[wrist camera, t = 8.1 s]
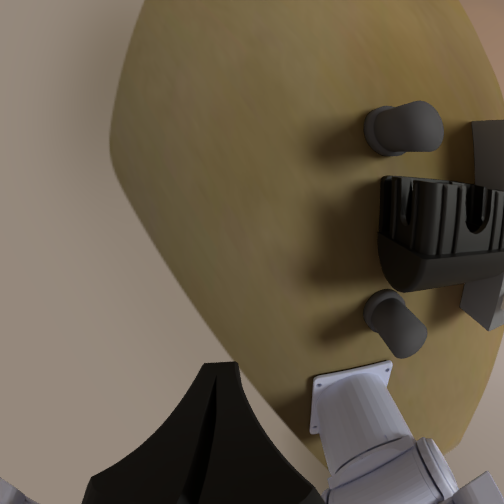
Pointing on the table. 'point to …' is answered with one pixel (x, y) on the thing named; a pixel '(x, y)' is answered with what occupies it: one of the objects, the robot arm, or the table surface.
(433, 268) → the end cap
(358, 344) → the table surface
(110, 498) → the robot arm
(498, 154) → the breaker strip
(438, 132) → the gray rounded knob
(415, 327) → the dark grey cylinder
